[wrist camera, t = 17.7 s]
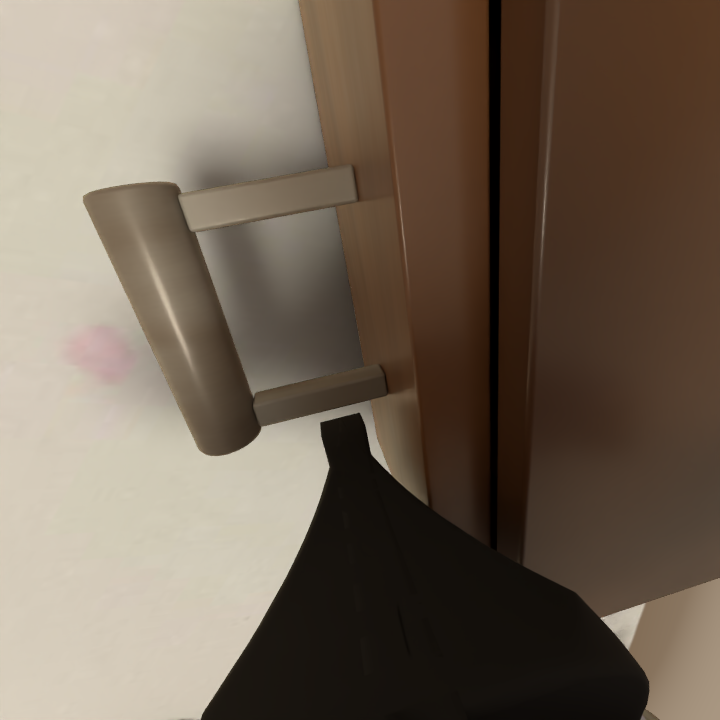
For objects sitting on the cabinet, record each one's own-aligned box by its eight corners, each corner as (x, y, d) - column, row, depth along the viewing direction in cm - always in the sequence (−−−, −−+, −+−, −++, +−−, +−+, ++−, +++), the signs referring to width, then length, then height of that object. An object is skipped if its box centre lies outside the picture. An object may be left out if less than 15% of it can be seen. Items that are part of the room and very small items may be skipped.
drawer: (259, 469, 12) (237, 665, 7) (80, -1, 7) (-594, -677, 2) (632, 372, 14) (846, 474, 8) (721, -75, 8) (1448, -554, 3)
